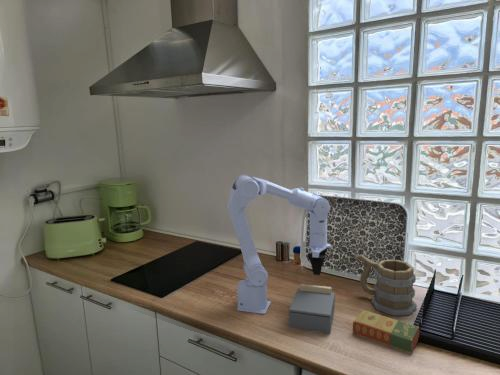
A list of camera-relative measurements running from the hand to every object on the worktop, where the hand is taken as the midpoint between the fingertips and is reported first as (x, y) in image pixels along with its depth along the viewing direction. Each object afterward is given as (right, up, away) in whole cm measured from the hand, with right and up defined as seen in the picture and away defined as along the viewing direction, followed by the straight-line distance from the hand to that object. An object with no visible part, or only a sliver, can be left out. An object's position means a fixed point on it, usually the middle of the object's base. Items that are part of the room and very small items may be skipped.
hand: (318, 270), depth 121 cm
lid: (-4, -7, -11) cm, 14 cm away
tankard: (+21, -11, -2) cm, 24 cm away
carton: (+15, -14, -20) cm, 29 cm away
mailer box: (-4, -13, -10) cm, 17 cm away
